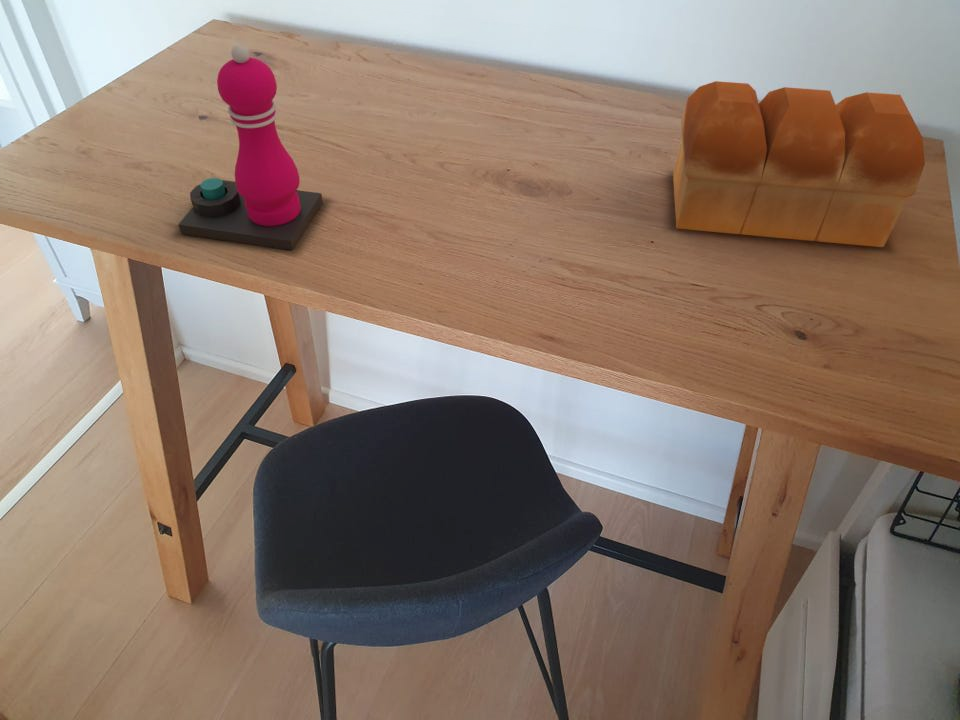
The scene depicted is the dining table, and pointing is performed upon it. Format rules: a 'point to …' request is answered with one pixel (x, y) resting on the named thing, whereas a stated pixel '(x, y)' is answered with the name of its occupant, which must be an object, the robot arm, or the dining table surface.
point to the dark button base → (245, 219)
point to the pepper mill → (259, 141)
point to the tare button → (212, 188)
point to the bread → (795, 164)
